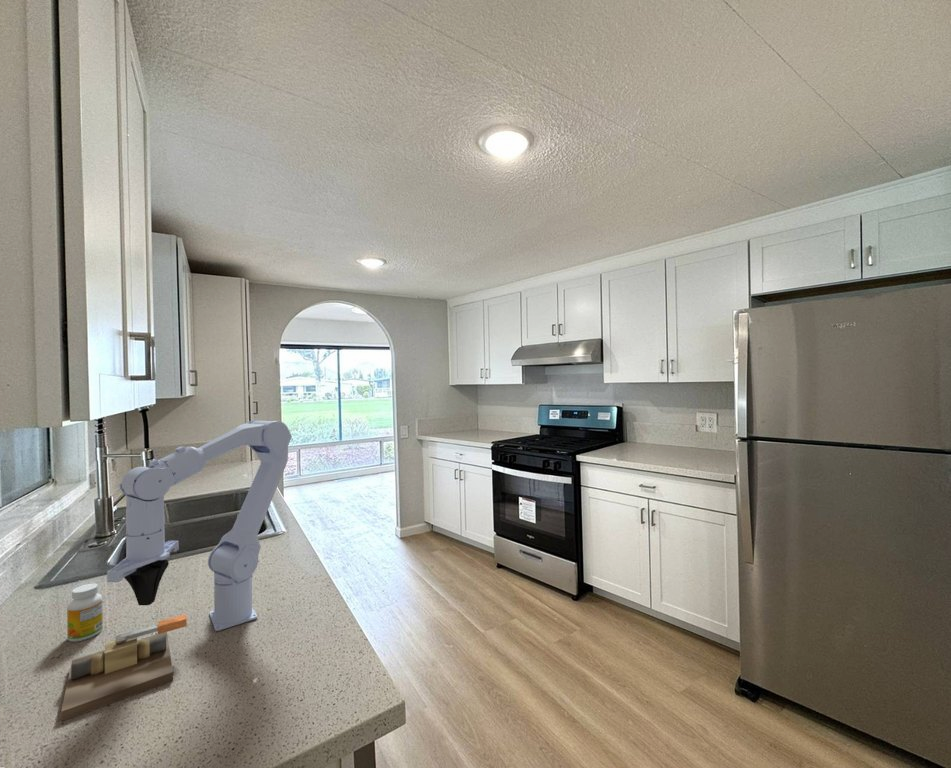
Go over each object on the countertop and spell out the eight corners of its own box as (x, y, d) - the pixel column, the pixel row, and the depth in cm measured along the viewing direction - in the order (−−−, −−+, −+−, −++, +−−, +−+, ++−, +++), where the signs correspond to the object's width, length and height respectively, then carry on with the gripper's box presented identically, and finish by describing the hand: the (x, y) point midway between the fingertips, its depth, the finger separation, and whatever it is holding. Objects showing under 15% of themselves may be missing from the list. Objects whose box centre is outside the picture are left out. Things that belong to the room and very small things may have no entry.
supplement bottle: (64, 636, 88) (64, 589, 88) (99, 624, 92) (98, 579, 92) (70, 645, 85) (70, 596, 85) (105, 633, 89) (105, 586, 89)
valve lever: (114, 646, 75) (114, 638, 75) (116, 640, 77) (115, 632, 77) (186, 626, 82) (186, 618, 82) (186, 621, 83) (186, 614, 83)
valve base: (72, 668, 78) (71, 640, 78) (166, 638, 86) (166, 613, 87) (61, 721, 65) (60, 688, 65) (173, 680, 74) (172, 651, 74)
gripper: (135, 545, 73) (135, 625, 73) (193, 519, 87) (193, 585, 87) (94, 545, 73) (95, 625, 73) (159, 519, 88) (159, 585, 87)
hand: (146, 603), depth 80 cm, fingers closed
